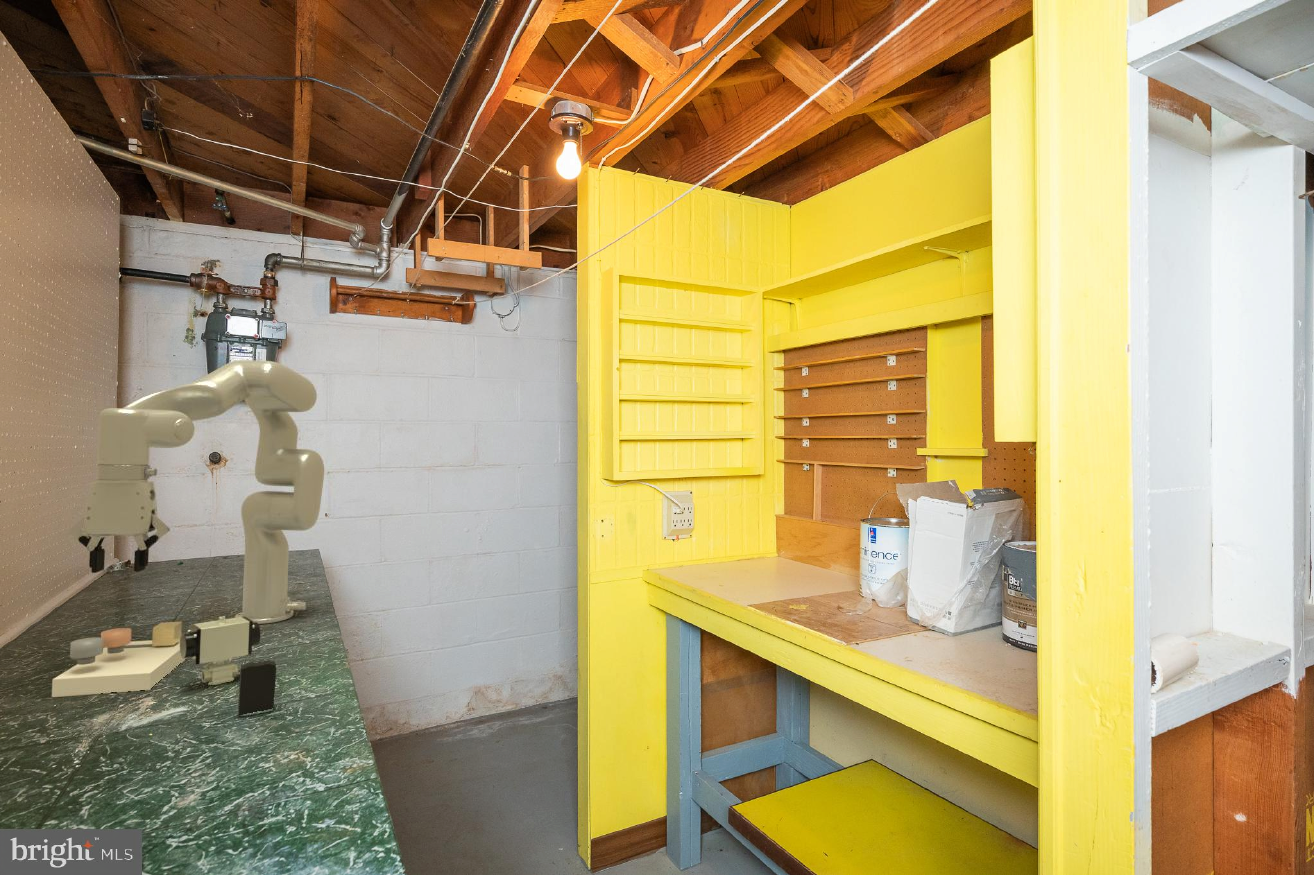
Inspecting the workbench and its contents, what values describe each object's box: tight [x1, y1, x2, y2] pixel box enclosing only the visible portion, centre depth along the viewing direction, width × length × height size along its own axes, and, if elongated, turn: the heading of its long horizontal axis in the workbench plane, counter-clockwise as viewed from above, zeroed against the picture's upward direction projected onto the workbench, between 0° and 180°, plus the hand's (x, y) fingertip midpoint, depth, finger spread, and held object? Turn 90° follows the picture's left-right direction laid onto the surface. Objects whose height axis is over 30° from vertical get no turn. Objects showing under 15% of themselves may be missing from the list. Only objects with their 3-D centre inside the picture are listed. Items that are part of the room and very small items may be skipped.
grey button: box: [69, 636, 104, 665], centre depth 118 cm, size 4×4×4 cm
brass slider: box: [152, 621, 183, 646], centre depth 133 cm, size 4×4×4 cm
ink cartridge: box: [237, 659, 277, 716], centre depth 109 cm, size 5×2×8 cm, turn 125°
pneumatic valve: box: [180, 615, 261, 686], centre depth 122 cm, size 6×12×12 cm, turn 138°
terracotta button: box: [100, 627, 132, 654], centre depth 124 cm, size 4×4×4 cm
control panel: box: [51, 639, 188, 698], centre depth 125 cm, size 14×22×3 cm, turn 18°
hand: (118, 570), depth 124 cm, fingers open, 5 cm apart
